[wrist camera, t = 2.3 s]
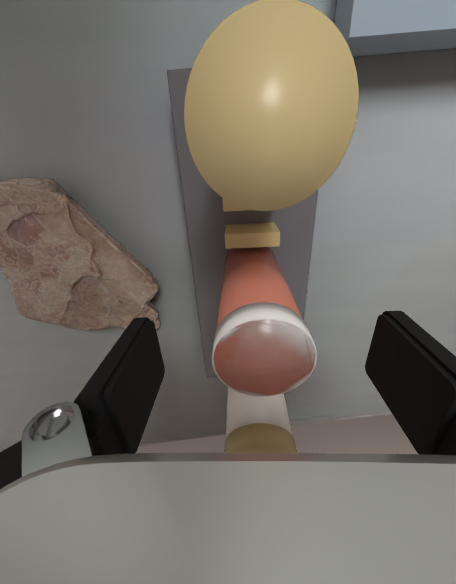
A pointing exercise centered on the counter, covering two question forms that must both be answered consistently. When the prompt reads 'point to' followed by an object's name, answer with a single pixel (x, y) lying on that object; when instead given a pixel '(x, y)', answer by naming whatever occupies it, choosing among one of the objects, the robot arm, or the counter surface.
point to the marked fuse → (260, 328)
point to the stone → (68, 261)
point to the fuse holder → (260, 164)
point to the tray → (396, 25)
